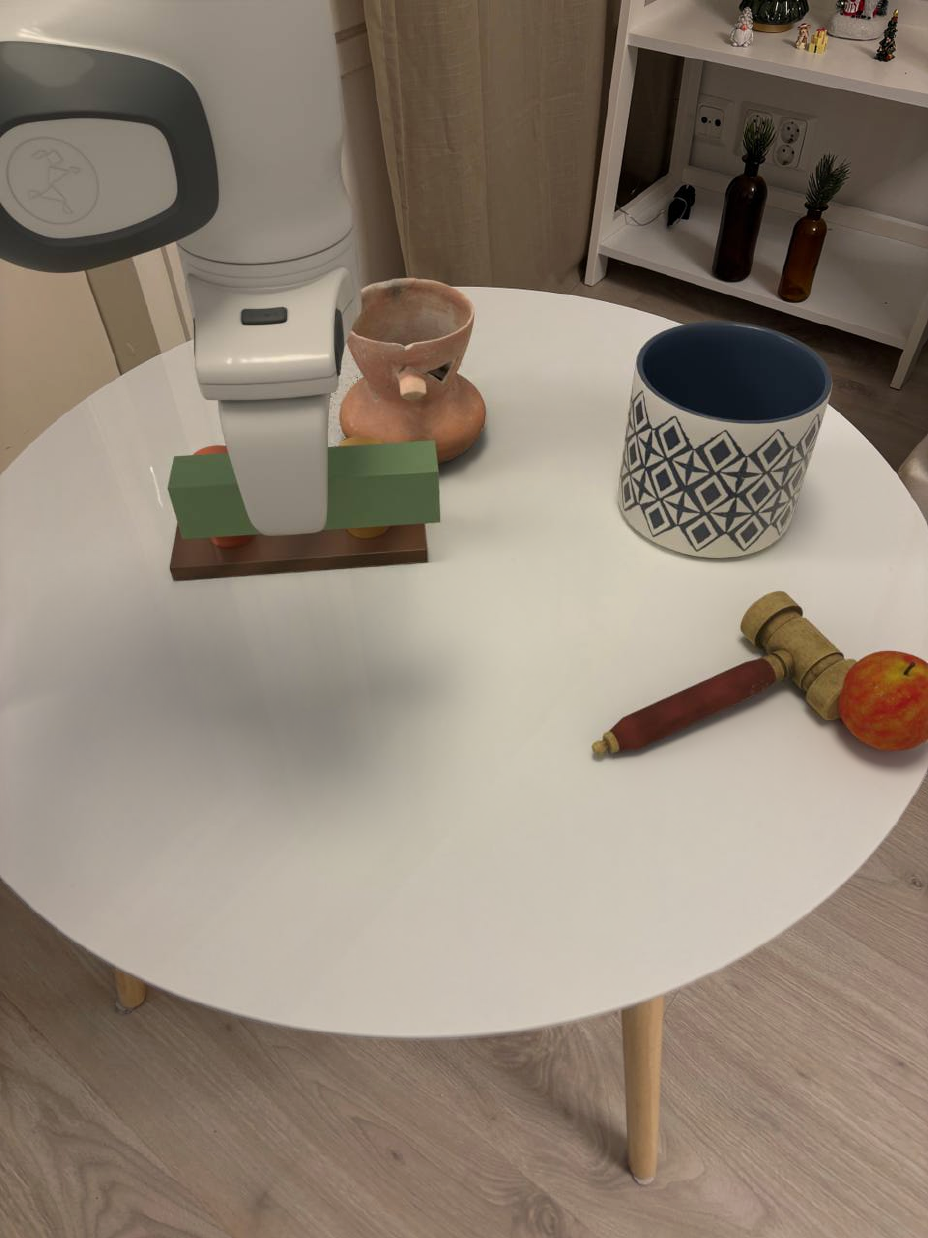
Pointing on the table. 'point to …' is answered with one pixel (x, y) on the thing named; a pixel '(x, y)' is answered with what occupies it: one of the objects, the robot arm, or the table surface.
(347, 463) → the bar
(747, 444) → the planter
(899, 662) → the fruit
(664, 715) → the gavel
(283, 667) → the table surface
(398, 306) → the ceramic jug
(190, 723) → the table surface
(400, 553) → the rod stand
